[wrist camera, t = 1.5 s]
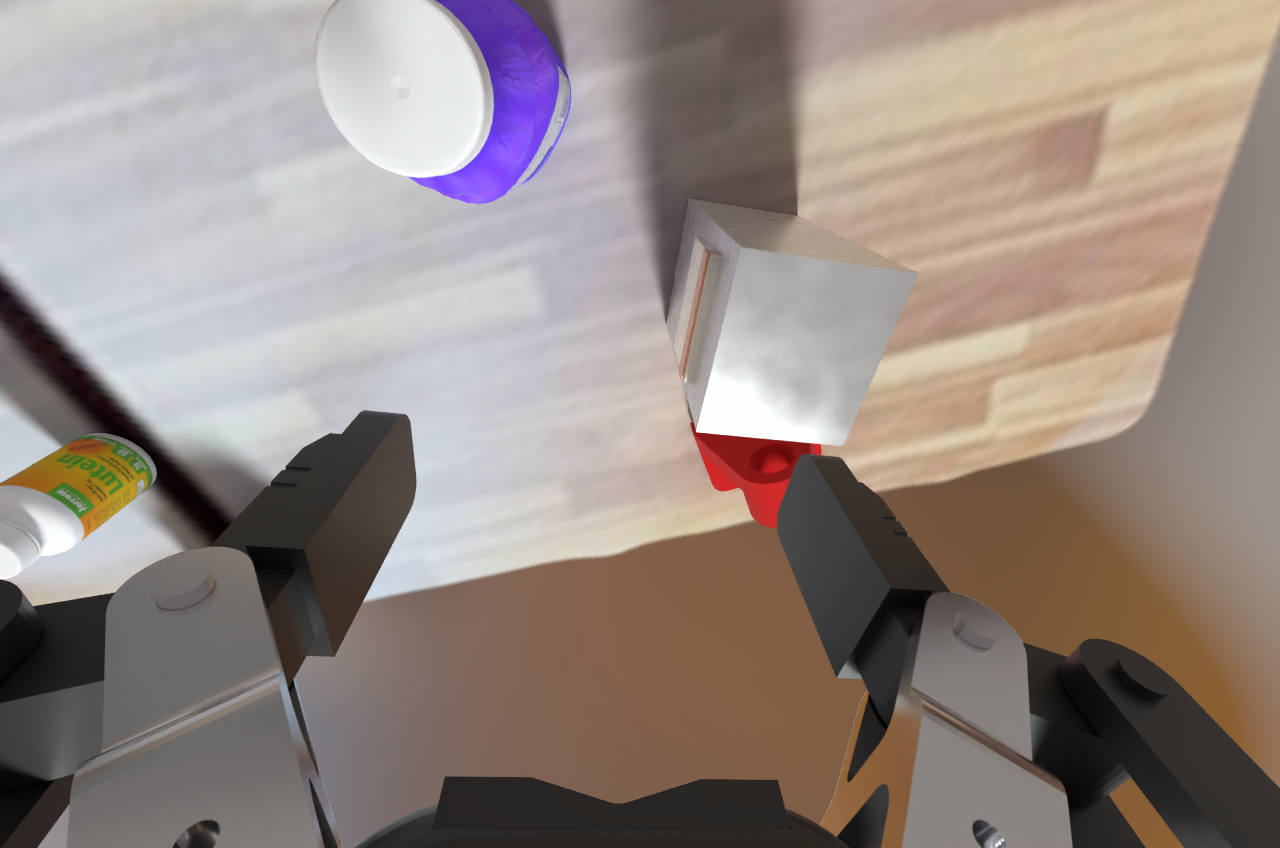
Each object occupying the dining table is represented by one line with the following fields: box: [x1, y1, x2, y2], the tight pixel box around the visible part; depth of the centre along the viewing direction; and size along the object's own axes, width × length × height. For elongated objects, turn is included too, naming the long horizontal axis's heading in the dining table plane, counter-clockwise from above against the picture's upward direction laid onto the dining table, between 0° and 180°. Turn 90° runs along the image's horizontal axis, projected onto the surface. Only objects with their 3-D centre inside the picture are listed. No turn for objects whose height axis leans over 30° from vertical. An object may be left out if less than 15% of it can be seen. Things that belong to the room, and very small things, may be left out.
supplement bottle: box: [0, 433, 157, 579], centre depth 33 cm, size 5×5×10 cm
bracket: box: [690, 422, 821, 528], centre depth 35 cm, size 9×6×10 cm
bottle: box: [315, 0, 571, 204], centre depth 20 cm, size 7×6×17 cm
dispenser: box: [666, 198, 918, 446], centre depth 26 cm, size 8×8×14 cm
